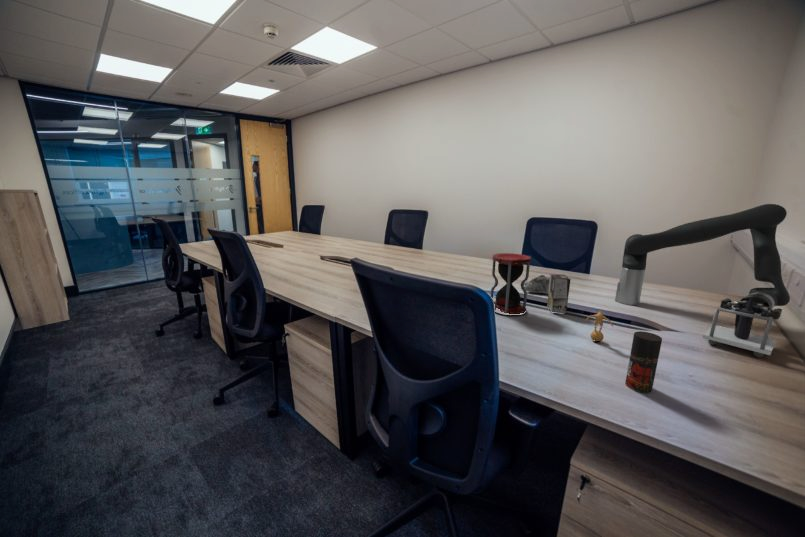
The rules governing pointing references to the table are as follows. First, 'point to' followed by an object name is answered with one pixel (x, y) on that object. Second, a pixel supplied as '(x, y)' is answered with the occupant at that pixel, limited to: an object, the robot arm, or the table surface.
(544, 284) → the mineral rock
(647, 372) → the deodorant
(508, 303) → the hourglass
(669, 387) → the table surface
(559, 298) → the coffee box
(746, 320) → the two-way radio
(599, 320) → the figurine
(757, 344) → the dolly
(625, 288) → the robot arm
